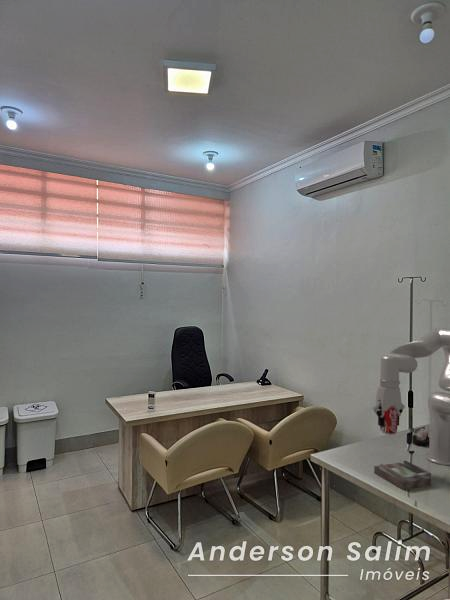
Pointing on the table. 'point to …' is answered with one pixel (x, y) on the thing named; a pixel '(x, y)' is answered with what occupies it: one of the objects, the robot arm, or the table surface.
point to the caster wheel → (421, 437)
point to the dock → (404, 475)
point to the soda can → (390, 421)
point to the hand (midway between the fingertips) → (388, 425)
